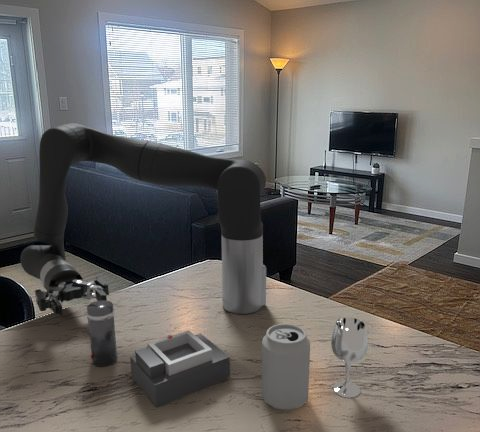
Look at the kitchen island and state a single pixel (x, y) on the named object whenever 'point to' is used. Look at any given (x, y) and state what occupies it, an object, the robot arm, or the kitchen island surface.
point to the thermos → (102, 333)
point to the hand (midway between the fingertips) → (82, 305)
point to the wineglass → (348, 350)
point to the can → (285, 366)
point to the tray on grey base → (178, 366)
